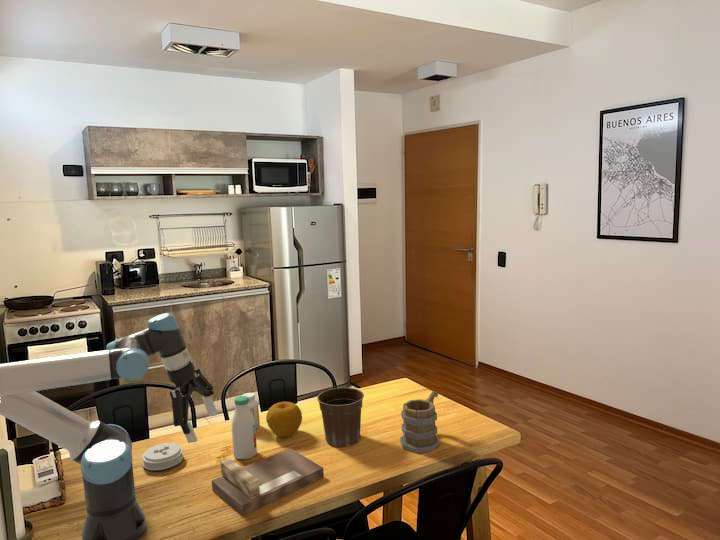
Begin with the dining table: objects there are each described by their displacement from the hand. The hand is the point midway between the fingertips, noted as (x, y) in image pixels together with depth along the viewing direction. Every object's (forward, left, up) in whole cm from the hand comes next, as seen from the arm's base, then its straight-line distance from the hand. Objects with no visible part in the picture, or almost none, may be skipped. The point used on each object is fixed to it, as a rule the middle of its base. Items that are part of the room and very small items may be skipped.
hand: (203, 427), depth 159 cm
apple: (+35, +11, -18) cm, 41 cm away
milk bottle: (+17, +8, -18) cm, 26 cm away
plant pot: (+47, -7, -18) cm, 51 cm away
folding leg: (+4, -12, -15) cm, 19 cm away
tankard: (+67, -28, -18) cm, 75 cm away
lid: (-5, +23, -18) cm, 30 cm away
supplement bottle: (+29, +25, -18) cm, 42 cm away
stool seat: (+13, -13, -18) cm, 26 cm away
